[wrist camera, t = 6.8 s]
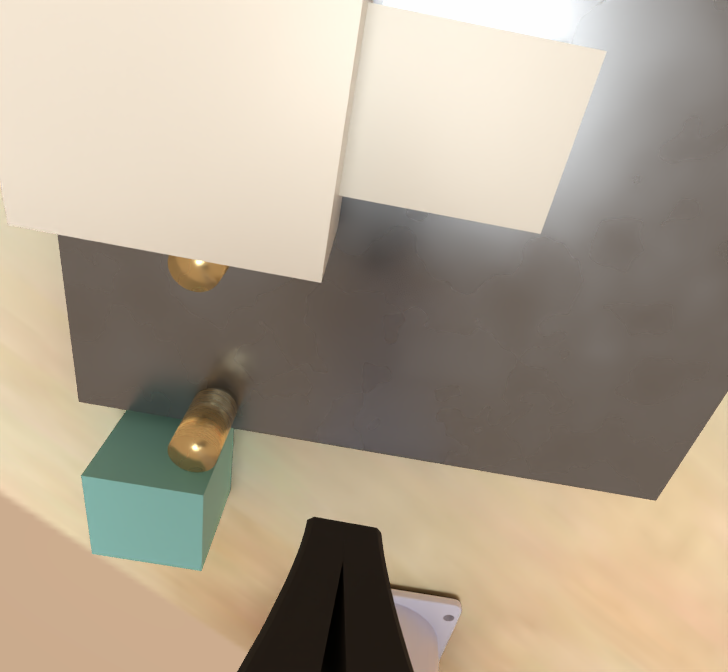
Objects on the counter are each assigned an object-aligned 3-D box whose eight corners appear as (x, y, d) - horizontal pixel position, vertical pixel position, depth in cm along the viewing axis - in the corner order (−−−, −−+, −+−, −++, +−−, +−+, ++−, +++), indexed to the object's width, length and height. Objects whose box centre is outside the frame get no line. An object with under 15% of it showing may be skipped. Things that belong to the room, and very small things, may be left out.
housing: (507, 258, 15) (536, 322, 12) (93, 180, 15) (8, 225, 12) (604, -28, 12) (681, -46, 9) (64, -143, 11) (-69, -209, 8)
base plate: (645, 480, 21) (686, 557, 18) (92, 385, 20) (39, 448, 17) (931, 23, 13) (1089, 24, 10) (32, -169, 12) (-88, -230, 9)
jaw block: (230, 488, 23) (201, 570, 20) (137, 473, 23) (92, 553, 19) (235, 417, 21) (203, 495, 18) (133, 400, 21) (81, 475, 17)
